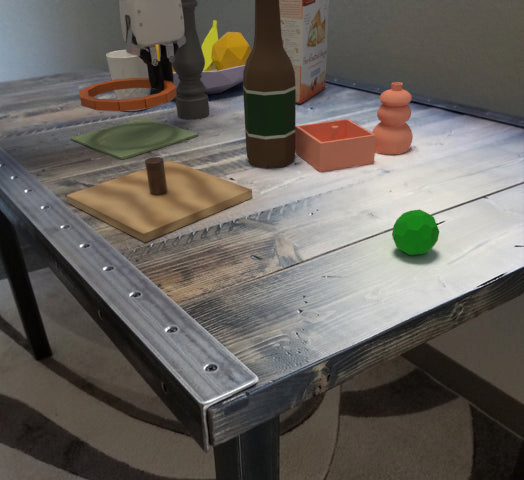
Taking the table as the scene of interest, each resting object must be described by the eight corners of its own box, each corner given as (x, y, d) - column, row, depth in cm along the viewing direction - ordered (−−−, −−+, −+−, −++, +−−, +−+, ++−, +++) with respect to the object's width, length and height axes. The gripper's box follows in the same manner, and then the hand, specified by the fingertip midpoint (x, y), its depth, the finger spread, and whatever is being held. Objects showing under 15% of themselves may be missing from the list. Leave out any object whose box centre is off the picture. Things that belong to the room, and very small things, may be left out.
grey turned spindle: (194, 121, 110) (178, -38, 94) (171, 116, 113) (152, -39, 97) (216, 113, 113) (204, -41, 98) (192, 108, 116) (177, -41, 101)
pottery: (319, 172, 86) (321, 102, 80) (295, 152, 94) (295, 87, 88) (424, 154, 91) (433, 87, 85) (393, 137, 98) (400, 74, 92)
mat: (122, 160, 93) (121, 157, 93) (70, 140, 103) (70, 137, 102) (198, 136, 102) (198, 133, 102) (144, 119, 111) (144, 117, 111)
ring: (115, 116, 90) (114, 107, 89) (63, 100, 99) (61, 91, 98) (194, 95, 98) (193, 86, 97) (140, 81, 107) (138, 73, 106)
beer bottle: (305, 161, 90) (308, -21, 76) (264, 173, 87) (258, -16, 72) (276, 149, 95) (274, -25, 81) (236, 159, 92) (226, -20, 78)
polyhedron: (381, 249, 66) (385, 210, 64) (413, 238, 68) (418, 199, 66) (412, 267, 63) (417, 226, 60) (444, 254, 65) (451, 215, 62)
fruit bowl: (218, 108, 116) (214, 45, 109) (115, 95, 127) (105, 37, 120) (285, 78, 135) (285, 23, 128) (190, 69, 146) (185, 17, 139)
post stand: (145, 242, 70) (137, 198, 66) (68, 203, 80) (58, 163, 77) (252, 197, 80) (250, 157, 76) (171, 167, 90) (166, 130, 87)
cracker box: (303, 105, 116) (304, -19, 103) (275, 102, 118) (273, -19, 106) (327, 88, 126) (331, -26, 113) (302, 86, 128) (303, -26, 116)
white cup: (162, 104, 120) (155, 51, 114) (136, 114, 114) (127, 58, 108) (133, 100, 123) (125, 48, 117) (107, 109, 118) (97, 55, 112)
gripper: (170, -42, 98) (183, 76, 109) (90, -34, 89) (113, 93, 100) (199, -41, 93) (209, 82, 104) (117, -33, 85) (138, 100, 96)
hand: (162, 87), depth 102 cm, fingers closed on ring, 1 cm apart
